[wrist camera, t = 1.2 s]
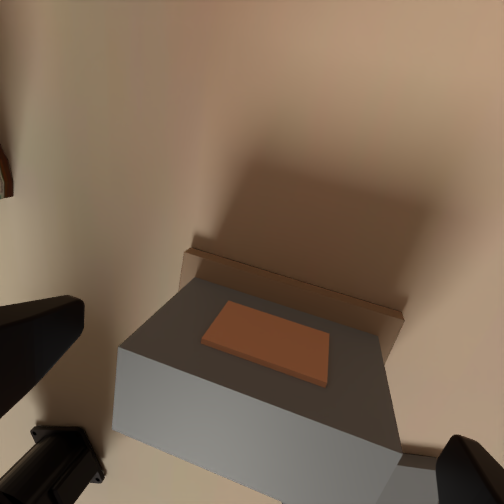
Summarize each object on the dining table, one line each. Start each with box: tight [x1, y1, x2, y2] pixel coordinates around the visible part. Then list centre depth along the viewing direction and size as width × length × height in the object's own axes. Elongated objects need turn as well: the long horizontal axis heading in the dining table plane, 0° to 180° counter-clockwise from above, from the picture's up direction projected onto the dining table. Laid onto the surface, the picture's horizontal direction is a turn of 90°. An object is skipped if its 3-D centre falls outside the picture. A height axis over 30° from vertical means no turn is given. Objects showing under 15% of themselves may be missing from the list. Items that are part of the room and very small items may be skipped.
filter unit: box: [112, 248, 405, 504], centre depth 18 cm, size 14×8×9 cm, turn 78°
